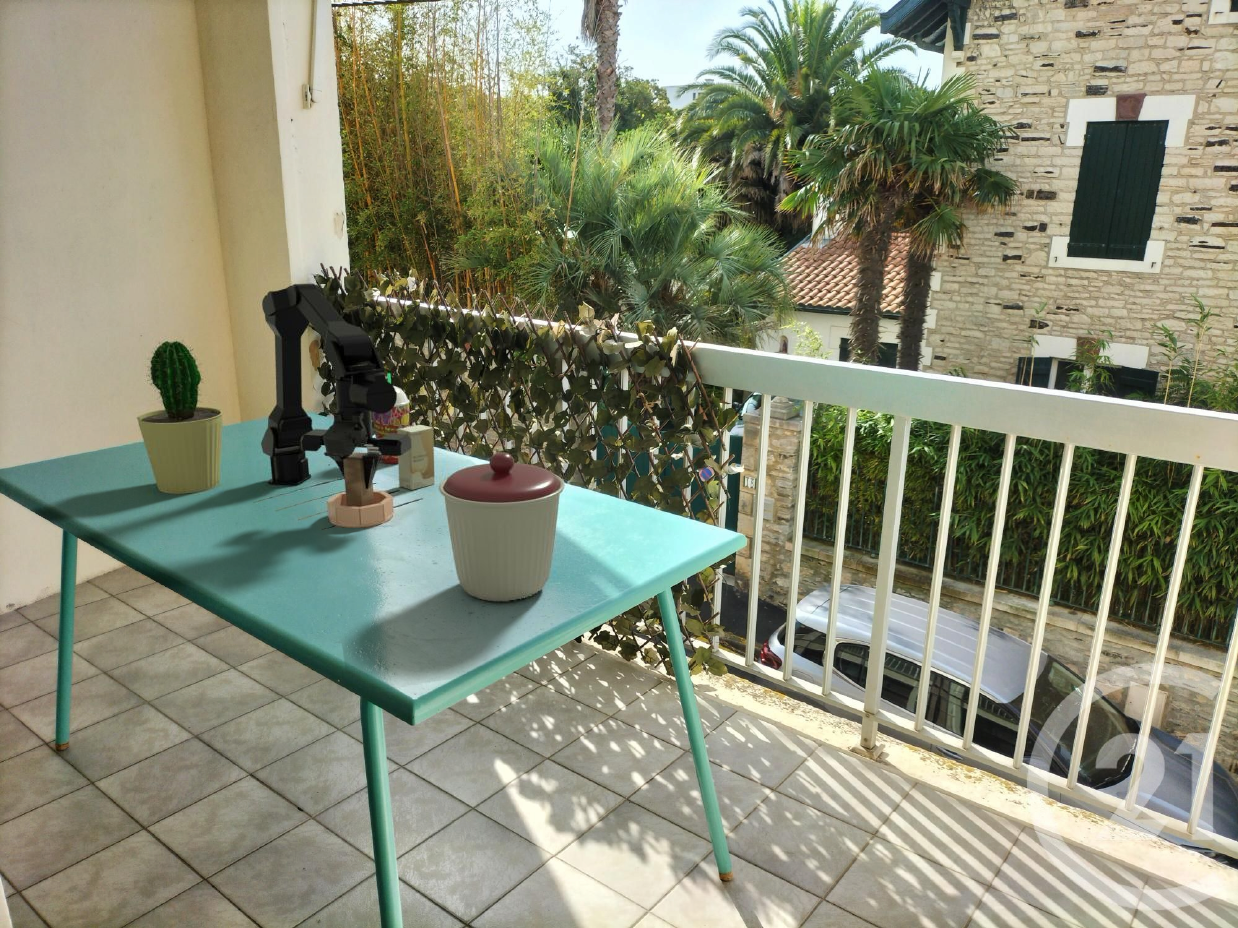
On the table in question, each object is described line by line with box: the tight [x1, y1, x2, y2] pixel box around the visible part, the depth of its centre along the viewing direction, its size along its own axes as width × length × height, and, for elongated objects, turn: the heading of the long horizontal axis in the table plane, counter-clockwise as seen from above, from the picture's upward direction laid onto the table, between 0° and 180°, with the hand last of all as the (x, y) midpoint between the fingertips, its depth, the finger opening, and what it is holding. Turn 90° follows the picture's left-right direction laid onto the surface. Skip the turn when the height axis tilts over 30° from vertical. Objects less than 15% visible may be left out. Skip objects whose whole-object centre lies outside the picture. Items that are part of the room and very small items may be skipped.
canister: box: [438, 451, 565, 602], centre depth 127 cm, size 18×18×21 cm
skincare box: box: [397, 424, 435, 491], centre depth 177 cm, size 6×4×12 cm
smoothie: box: [372, 372, 411, 464], centre depth 193 cm, size 8×8×20 cm
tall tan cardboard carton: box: [343, 451, 374, 507], centre depth 157 cm, size 3×5×9 cm, turn 172°
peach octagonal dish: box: [326, 489, 395, 529], centre depth 158 cm, size 11×11×4 cm
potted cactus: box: [136, 340, 224, 495], centre depth 171 cm, size 15×15×30 cm
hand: (359, 487), depth 157 cm, fingers closed on tall tan cardboard carton, 3 cm apart
